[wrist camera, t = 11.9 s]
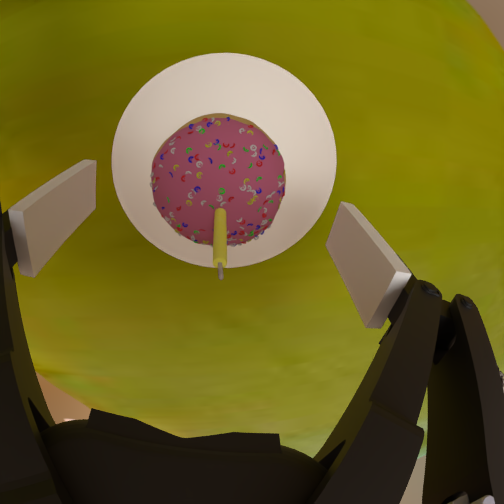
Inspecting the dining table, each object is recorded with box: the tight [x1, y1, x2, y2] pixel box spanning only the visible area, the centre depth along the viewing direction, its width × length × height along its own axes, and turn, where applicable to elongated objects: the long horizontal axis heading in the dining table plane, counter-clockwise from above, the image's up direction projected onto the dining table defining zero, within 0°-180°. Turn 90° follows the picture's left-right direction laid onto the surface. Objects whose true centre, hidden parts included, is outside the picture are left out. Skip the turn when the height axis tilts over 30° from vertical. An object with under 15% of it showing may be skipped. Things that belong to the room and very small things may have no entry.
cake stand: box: [112, 53, 336, 268], centre depth 26 cm, size 18×18×8 cm
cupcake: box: [150, 113, 286, 280], centre depth 17 cm, size 9×8×12 cm
